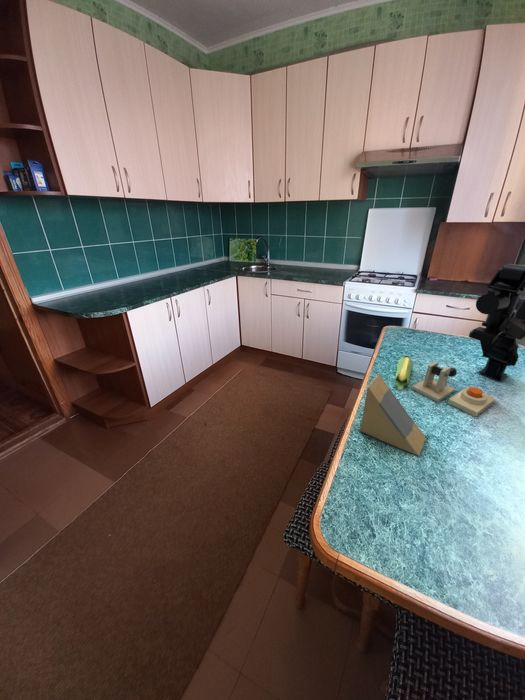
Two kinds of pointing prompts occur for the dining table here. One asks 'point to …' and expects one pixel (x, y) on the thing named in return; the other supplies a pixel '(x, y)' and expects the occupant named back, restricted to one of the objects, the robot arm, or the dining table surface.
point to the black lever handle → (438, 369)
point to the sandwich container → (389, 419)
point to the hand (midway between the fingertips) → (484, 353)
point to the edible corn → (403, 371)
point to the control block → (471, 402)
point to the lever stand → (434, 384)
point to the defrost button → (475, 392)
